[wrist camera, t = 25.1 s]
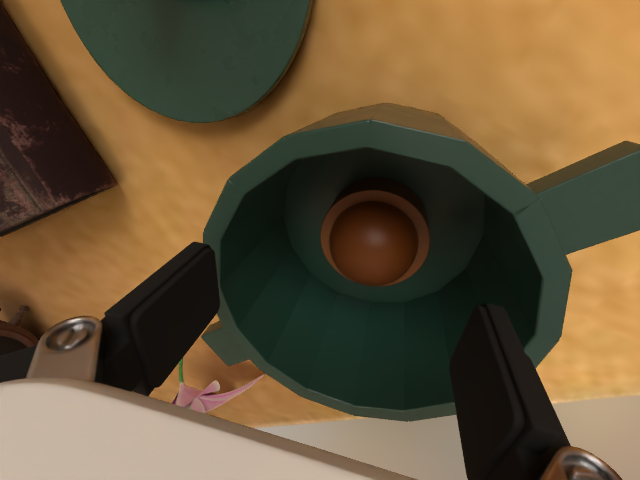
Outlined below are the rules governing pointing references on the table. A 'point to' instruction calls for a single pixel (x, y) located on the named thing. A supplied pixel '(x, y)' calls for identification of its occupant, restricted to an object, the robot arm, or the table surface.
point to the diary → (38, 142)
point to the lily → (205, 395)
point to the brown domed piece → (376, 232)
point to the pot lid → (192, 50)
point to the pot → (423, 286)
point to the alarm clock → (15, 335)
